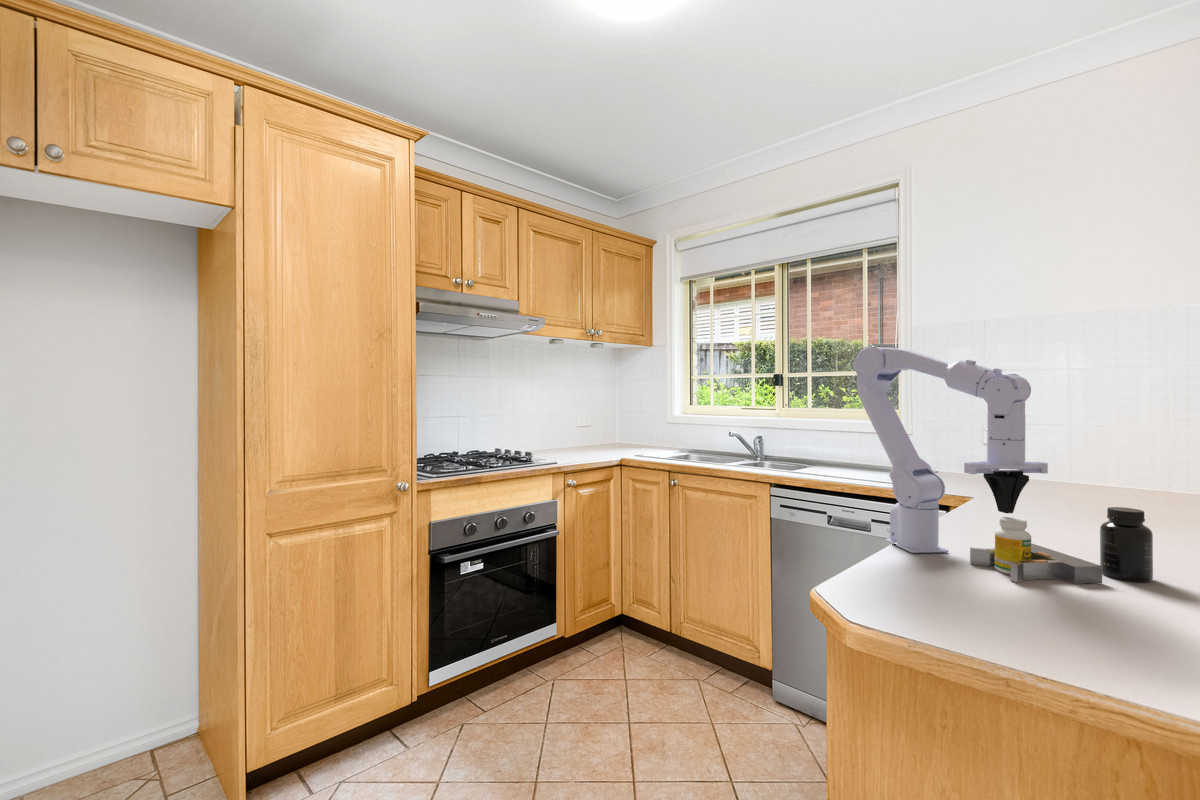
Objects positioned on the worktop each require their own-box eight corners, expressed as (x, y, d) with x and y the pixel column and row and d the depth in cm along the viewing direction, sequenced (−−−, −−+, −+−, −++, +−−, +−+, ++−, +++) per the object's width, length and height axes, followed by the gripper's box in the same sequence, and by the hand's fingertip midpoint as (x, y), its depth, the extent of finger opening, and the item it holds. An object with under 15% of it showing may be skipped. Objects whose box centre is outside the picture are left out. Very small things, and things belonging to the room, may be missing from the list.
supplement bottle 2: (1130, 571, 102) (1131, 505, 102) (1164, 584, 95) (1165, 514, 95) (1089, 570, 102) (1090, 505, 102) (1120, 582, 96) (1121, 513, 95)
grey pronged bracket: (962, 560, 108) (962, 544, 108) (1033, 559, 109) (1033, 542, 109) (1021, 585, 94) (1021, 566, 94) (1102, 583, 95) (1102, 564, 95)
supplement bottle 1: (999, 565, 105) (1000, 514, 105) (1034, 572, 101) (1035, 519, 101) (990, 570, 102) (991, 518, 102) (1026, 578, 98) (1027, 523, 98)
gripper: (983, 441, 99) (983, 517, 99) (1062, 440, 100) (1061, 516, 100) (956, 438, 106) (956, 509, 106) (1030, 437, 107) (1030, 508, 107)
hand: (1005, 512), depth 103 cm, fingers closed
